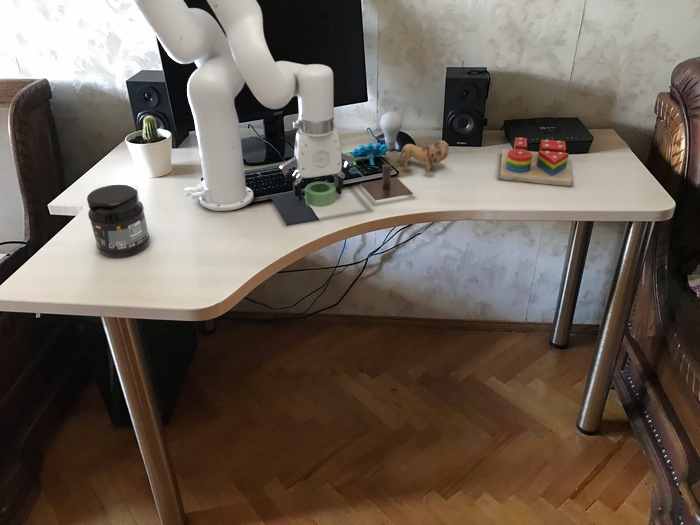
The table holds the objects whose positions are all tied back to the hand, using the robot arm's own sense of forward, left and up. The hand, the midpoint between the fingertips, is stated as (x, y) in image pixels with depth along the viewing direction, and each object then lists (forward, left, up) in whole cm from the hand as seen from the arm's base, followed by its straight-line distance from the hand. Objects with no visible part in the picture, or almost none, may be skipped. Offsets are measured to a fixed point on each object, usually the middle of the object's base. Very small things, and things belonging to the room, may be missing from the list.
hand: (318, 195), depth 139 cm
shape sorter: (+59, -1, -3) cm, 59 cm away
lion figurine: (+31, +9, -3) cm, 33 cm away
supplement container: (-44, -4, -3) cm, 44 cm away
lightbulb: (+29, +25, -3) cm, 38 cm away
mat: (0, 0, -2) cm, 2 cm away
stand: (+17, 0, -2) cm, 17 cm away
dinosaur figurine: (+19, +17, -3) cm, 26 cm away
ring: (0, 0, -2) cm, 2 cm away
